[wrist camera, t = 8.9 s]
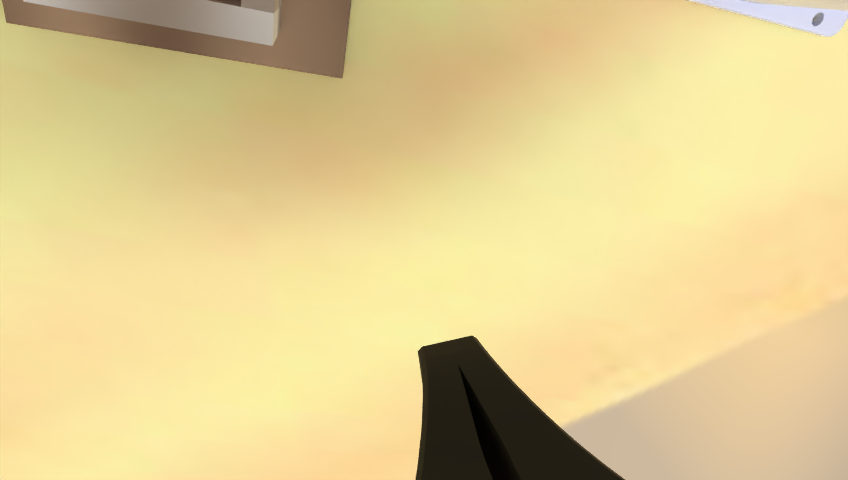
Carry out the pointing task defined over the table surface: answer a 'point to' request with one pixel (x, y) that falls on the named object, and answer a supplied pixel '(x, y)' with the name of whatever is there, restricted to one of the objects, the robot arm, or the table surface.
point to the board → (207, 27)
